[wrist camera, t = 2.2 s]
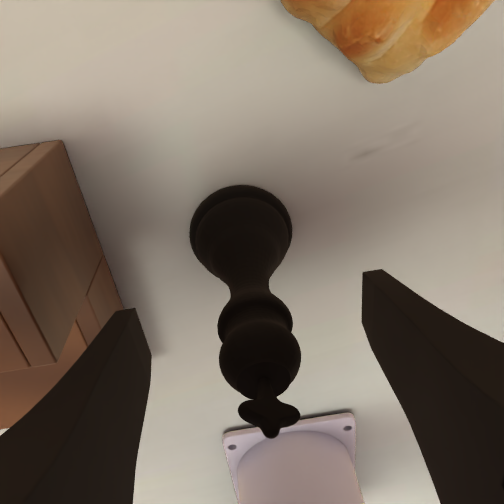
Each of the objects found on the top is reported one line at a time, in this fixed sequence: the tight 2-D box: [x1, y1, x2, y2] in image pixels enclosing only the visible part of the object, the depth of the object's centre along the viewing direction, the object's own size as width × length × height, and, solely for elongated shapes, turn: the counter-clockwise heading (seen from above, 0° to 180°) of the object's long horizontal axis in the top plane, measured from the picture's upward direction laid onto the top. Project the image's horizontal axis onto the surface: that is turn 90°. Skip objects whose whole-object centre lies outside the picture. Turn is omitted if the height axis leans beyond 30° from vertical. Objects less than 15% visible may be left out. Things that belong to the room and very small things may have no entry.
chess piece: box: [190, 185, 301, 439], centre depth 14 cm, size 4×4×10 cm
